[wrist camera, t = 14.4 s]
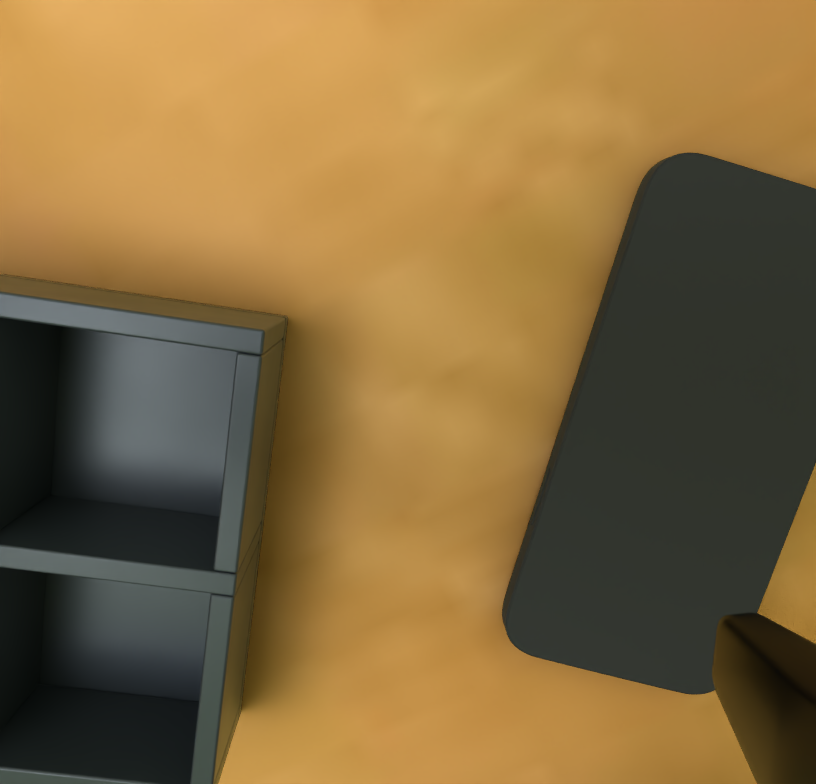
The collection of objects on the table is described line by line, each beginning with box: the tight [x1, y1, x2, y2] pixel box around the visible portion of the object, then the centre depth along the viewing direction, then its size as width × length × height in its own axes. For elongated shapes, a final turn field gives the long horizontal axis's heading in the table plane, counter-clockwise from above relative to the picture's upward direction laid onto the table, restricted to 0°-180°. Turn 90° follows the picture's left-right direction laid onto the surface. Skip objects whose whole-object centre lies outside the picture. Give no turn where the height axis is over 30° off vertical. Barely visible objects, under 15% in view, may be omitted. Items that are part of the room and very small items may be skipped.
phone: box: [502, 153, 816, 694], centre depth 21 cm, size 7×1×15 cm
